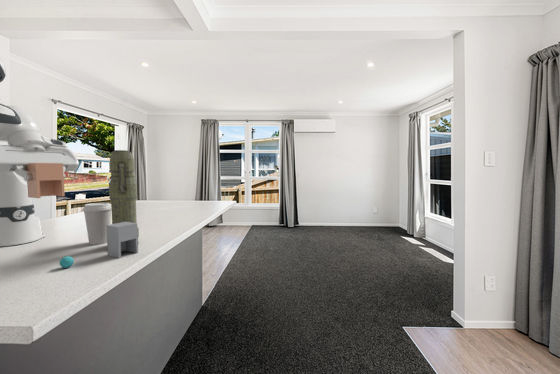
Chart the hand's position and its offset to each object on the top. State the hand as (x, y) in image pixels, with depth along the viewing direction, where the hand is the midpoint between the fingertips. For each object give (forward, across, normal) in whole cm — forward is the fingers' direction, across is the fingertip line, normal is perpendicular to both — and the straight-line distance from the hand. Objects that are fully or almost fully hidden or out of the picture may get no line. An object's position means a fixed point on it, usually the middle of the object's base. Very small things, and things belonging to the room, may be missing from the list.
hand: (46, 179), depth 78 cm
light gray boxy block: (+26, +15, +10) cm, 32 cm away
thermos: (+19, +22, +17) cm, 34 cm away
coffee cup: (+10, +19, +26) cm, 34 cm away
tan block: (+3, 0, +4) cm, 5 cm away
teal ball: (+23, 0, +10) cm, 25 cm away
